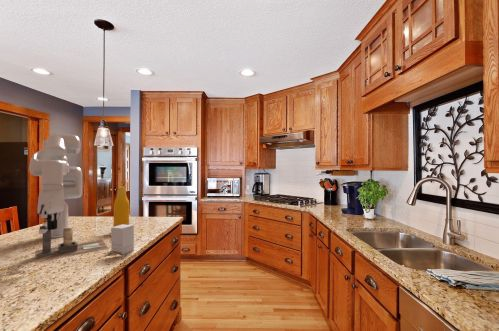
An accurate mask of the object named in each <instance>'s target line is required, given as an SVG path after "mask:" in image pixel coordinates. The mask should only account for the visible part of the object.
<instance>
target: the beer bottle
mask: <svg viewBox="0 0 499 331" xmlns="http://www.w3.org/2000/svg"><path fill="white" fill-rule="evenodd" d="M122 224H124V225H130V200H129V199H128V196H127V190H126V186H118V187H117V192H116V198H115V200H114V201H113V227H115V226H119V225H122Z"/></svg>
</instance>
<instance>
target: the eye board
mask: <svg viewBox="0 0 499 331" xmlns="http://www.w3.org/2000/svg"><path fill="white" fill-rule="evenodd" d="M41 243H42V249H38V250H35V255H34V263H39V262H45V261H52V260H56V259H62V258H66V257H67V258H68V257H72V256H78V255H83V254H89V253H94V252H99V251H105V250H109V249H110V248H109V247H108V245H107V244H106V243H105V242H104V240H103V239H98V240H91V241H85V242H79V243H78V242H77V241H76V240H74V241H72V245H69V246H63V242H62V243H59V244H57V246H55V247H54V246H53V247H52V238H51V230H47V231H46V233H43V234H42V242H41Z"/></svg>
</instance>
